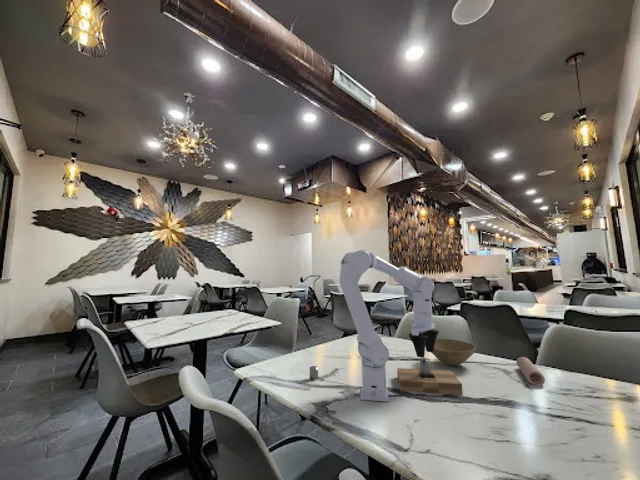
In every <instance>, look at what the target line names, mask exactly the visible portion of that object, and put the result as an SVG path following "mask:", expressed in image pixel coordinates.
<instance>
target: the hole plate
mask: <svg viewBox="0 0 640 480" xmlns="http://www.w3.org/2000/svg"><path fill="white" fill-rule="evenodd" d="M396 373H397V381H398V386H399V390H400V392H407V393H408V392H410V393H411V392H412V393H427V394H428V393H429V394H442V395H443V394H445V395H463V383H461V381H460V379H458V377H457V376H456V375H455V374H454V372H453V371H452V370H445V369H444V370H443V369H430V378H421V374H420V368H401V367H400V368H399V367H398V368H396Z"/></svg>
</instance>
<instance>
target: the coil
mask: <svg viewBox="0 0 640 480" xmlns="http://www.w3.org/2000/svg"><path fill="white" fill-rule="evenodd" d="M515 361H516V362H515V363H516V366H517V367H518V369H520V371H521V373H522V374H523V375H524V377H525V379H526V380H527V381H528V382H529V384H531V385H535V386H536V387H542V386H544V384H545V382H546V378H545V376H544V375H543V374H542V372H541V371H540V370H539V369H538V368H537V367H536V366H535V365H534V364H533V362H532V361H531V359H529V358H528V357H525V356H520V357H518V358H517V359H516V360H515Z"/></svg>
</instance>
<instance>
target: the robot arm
mask: <svg viewBox="0 0 640 480" xmlns="http://www.w3.org/2000/svg"><path fill="white" fill-rule="evenodd" d="M369 269H374V270H376V271H378V272H381V273H384V274H386V275H388V276H390V277H392V279H393V281H394V282H395V283H396V284H398V285H401V286H403V287H406V288H407V289H409V291H410V292H411V293H412V297H413V298H412V299H413V300H412V301H413V318H414V324H411V327H412V328H411V330H410V331H411V332H410V333H408V337H409V338H410V340H411V342H412V345H413V347H414V351H415V353H416V357H418V358H425V353H426V352H427V353H431V352H432V353H433V351H434V346H435V341H436V339H438V335H439V330H438V329H436V323H435V322H433V308H432V305H433V304H432V297H433V292H434V290H435V284H434V283H433V281H432V279H431V278H430V277H428V276H422V275H421V273H419V272H415V271H413V270H411V269H410V267H408V266H407V265H406V266H399V267H397V266H396V265H393V264H391V263H389V262H388V261H386V260H384V259H382V258H381V257H379V256H377V255H376V254H374V253H373V252H368V251H367V250H364V249H360V250H357V251H350V252H347V253H345V255H344V256H343V257H342V259H341V260H340V272H339V285H340V288H341V290H342V293H343V296H344V299H345V302H346V304H347V307H348V310H349V313H350V315H351V318H352V321H353V323H354V327H355V329H356V333H357V337H356V340H357V343H358V344H357V351H358V354H359V355H360V356H361V378H362V379H361V381H362V386H361V391H360V400H361V401H374V402H389V391H388V387H387V375H386V363H387V362H388V360H389V358H390V351H389V348H388V347H387V346H386V345H385V344H384V343H383V340H382V338H381V336H379V334H378V333H377V331H376V330H375V327H374V325H373V321H372V319H371V316H370V314H369V310H368V308H367V306H366V303H365V300H364V298H363V294H362V290H361V289H360V286H359V284H358V283H359V282H360V279H361V277H362V275H364V274H365V272H367V271H368V270H369ZM432 353H431V354H432Z"/></svg>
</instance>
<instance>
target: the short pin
mask: <svg viewBox="0 0 640 480" xmlns="http://www.w3.org/2000/svg"><path fill="white" fill-rule="evenodd" d="M310 379H311V380H315V379H318V380H319V367H318V365H317V366H316V365H312V366H309V380H310ZM311 380H310V381H311Z"/></svg>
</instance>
